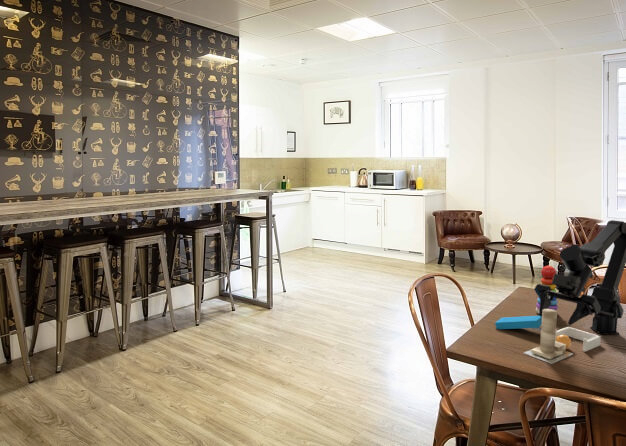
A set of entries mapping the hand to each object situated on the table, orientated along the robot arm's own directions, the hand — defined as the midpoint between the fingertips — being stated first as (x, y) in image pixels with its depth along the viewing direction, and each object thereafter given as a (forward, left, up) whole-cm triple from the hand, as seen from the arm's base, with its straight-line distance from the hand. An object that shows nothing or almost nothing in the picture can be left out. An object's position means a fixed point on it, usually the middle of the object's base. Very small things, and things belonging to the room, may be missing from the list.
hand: (554, 319), depth 148 cm
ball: (-5, -3, -8) cm, 11 cm away
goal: (-12, -8, -11) cm, 17 cm away
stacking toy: (-16, -37, -11) cm, 42 cm away
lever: (0, -18, -11) cm, 21 cm away
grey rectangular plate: (+2, +2, -11) cm, 11 cm away
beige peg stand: (+1, +1, -10) cm, 10 cm away
